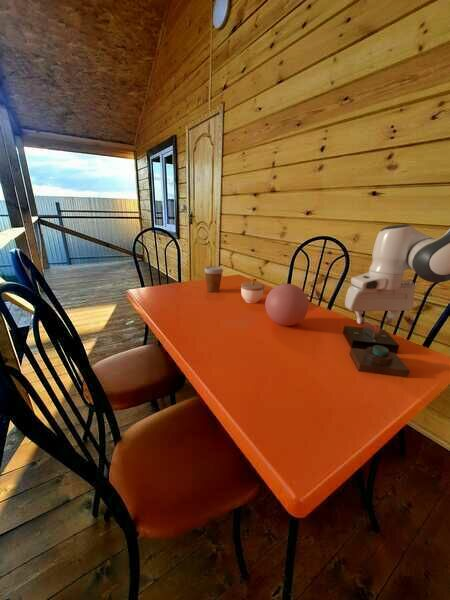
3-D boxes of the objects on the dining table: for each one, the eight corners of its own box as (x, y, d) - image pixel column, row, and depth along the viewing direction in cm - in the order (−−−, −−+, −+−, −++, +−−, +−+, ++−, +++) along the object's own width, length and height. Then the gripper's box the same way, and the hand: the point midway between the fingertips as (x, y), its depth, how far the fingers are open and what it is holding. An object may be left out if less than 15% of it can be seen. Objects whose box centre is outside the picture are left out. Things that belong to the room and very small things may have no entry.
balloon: (322, 324, 96) (329, 285, 91) (284, 336, 85) (289, 293, 80) (291, 311, 108) (296, 276, 103) (255, 320, 98) (258, 281, 92)
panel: (382, 337, 87) (384, 329, 86) (396, 354, 77) (399, 345, 76) (342, 333, 89) (344, 325, 88) (351, 348, 79) (353, 339, 78)
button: (383, 351, 71) (385, 345, 71) (389, 358, 68) (390, 352, 67) (370, 349, 72) (371, 344, 71) (374, 356, 68) (376, 350, 68)
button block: (392, 359, 74) (396, 347, 73) (407, 377, 66) (411, 364, 65) (349, 354, 76) (351, 342, 75) (358, 371, 68) (361, 358, 67)
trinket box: (263, 298, 123) (264, 279, 120) (262, 305, 113) (264, 285, 110) (241, 296, 125) (242, 277, 121) (239, 303, 115) (240, 283, 111)
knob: (362, 330, 85) (365, 319, 83) (367, 330, 85) (369, 319, 83) (372, 338, 80) (375, 326, 78) (377, 338, 80) (380, 326, 78)
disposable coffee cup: (223, 288, 136) (224, 266, 132) (220, 293, 128) (221, 270, 124) (206, 287, 138) (206, 265, 134) (202, 292, 129) (202, 269, 125)
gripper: (408, 278, 80) (398, 318, 84) (346, 278, 78) (338, 319, 83) (424, 283, 74) (412, 326, 78) (357, 283, 72) (349, 327, 77)
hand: (374, 323), depth 81 cm, fingers open, 8 cm apart
